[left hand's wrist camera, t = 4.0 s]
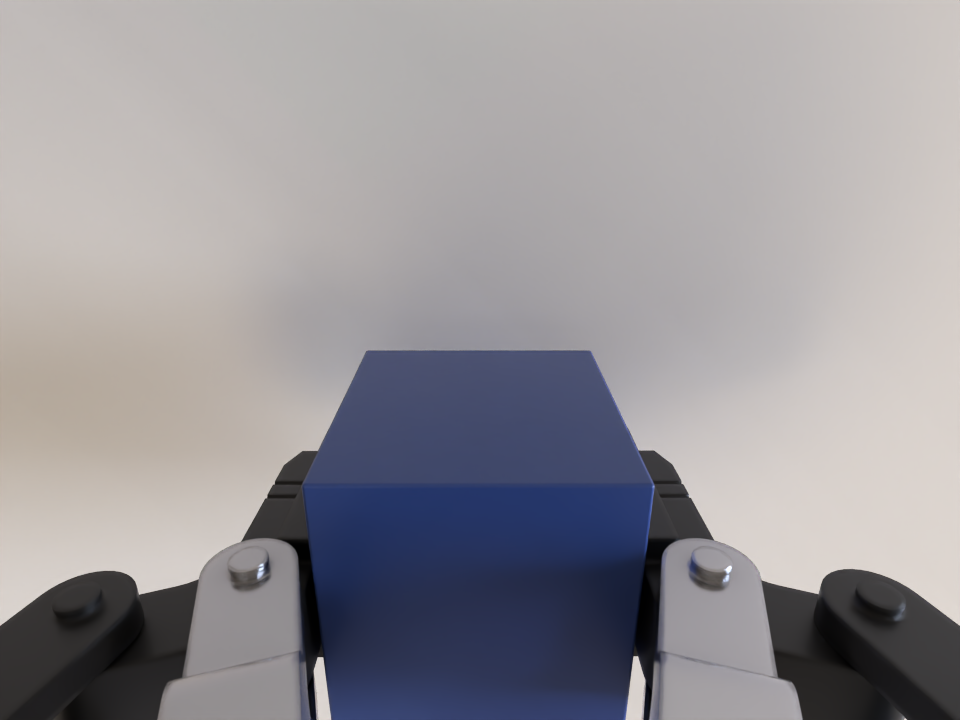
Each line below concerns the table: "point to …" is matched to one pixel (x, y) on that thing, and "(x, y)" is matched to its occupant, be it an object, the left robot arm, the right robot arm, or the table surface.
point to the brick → (478, 539)
